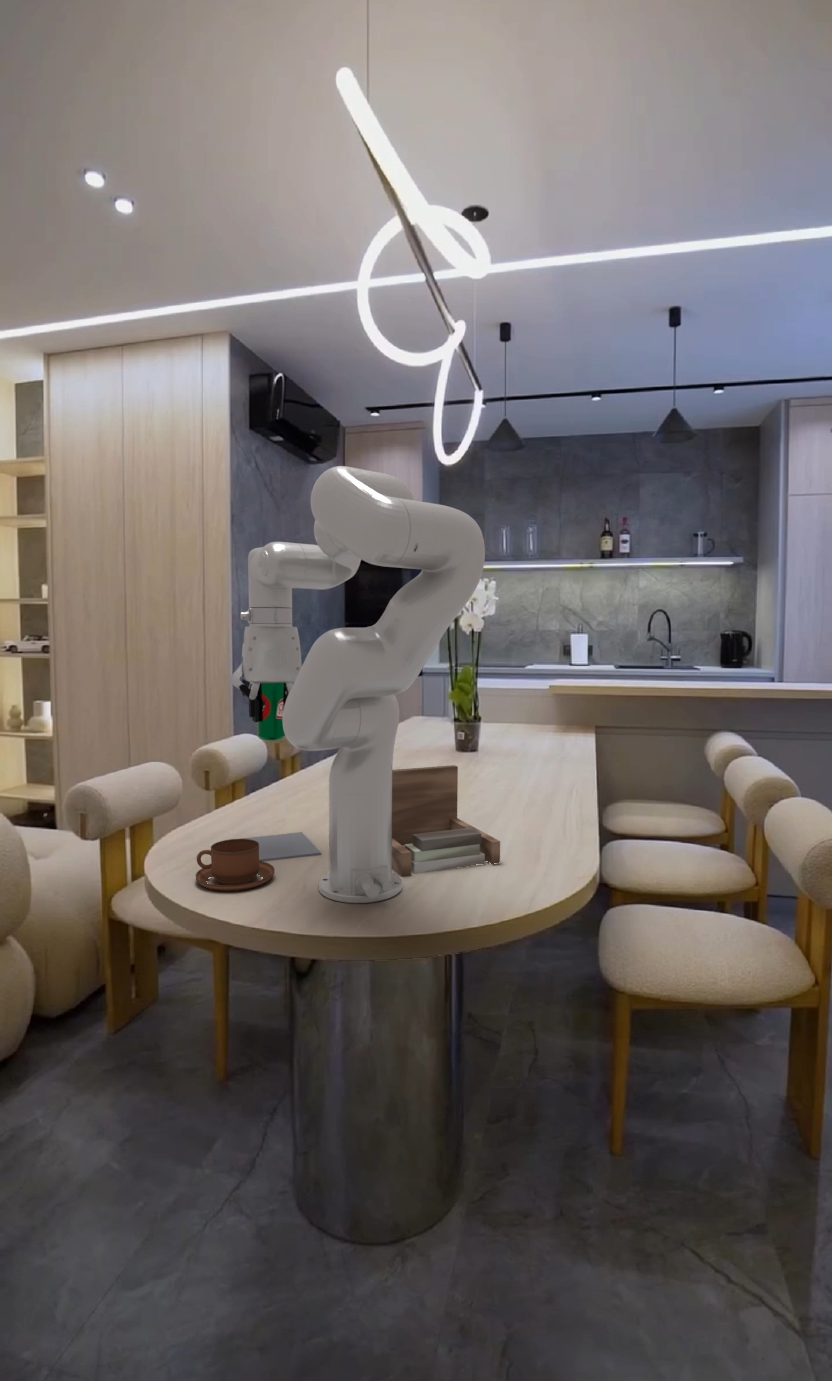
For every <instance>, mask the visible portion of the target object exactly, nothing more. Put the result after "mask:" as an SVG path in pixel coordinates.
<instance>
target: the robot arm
mask: <svg viewBox="0 0 832 1381" xmlns="http://www.w3.org/2000/svg"><path fill="white" fill-rule="evenodd" d="M409 487H410V486H408V485H407V484H406V483H405V482H404V481H403V480H401V479H400V478H398V477H397V476H393V475H390V474H387V473H384V472H378V471H373V470H367V469H362V468H357V467H351V466H346V465H345V466H344V465H343V466H342V465H338V466H332V467H331V468H328V469H327V470H325V471H324V472H322V473H321V474H320V475H319V477H318V478H317V479H316V481H315V482H314V485H313V487H312V490H311V493H310V509H311V513H312V516H313V517H314V524H313V534H314V540H315V542H316V544H312V543H311V544H309V543H301V542H300V543H298V542H287V541H271V542H269V543H266V544H265V545H264V546H263V547H261V546H260V547H255V548H253V549H252V550H250V551H249V552H248V556H247V558H248V559H247V562H248V563H247V565H248V566H247V570H248V571H247V572H248V609H247V610H245V611H240V616H239V617H240V620H244V621H247V623H248V626H245V628H244V633H243V639H242V648H241V650H242V651H241V663H240V664H239V666H238V667H237V668H236V669H235V671H234V672H233V673H232V675H231V676H230V677H229V678H228V681H229V682H228V683H230V684H232V685H233V686H234V687H235V688H236V689H238V690H239V691H240V692H241V693H242V694H244V696H245V697H246V698H247V699H248V715H249V718H252V722H254V723H257V722H258V721H259V700H258V699H257V692H258V689H259V685H260V683H285V684H286V702H285V706H284V710H283V719H282V720H283V730H284V733H285V739H286V740H287V742H289V743H290V744H291V745H292V746H294V748H297V749H298V750H302V751H307V752H318V751H319V752H320V751H326V750H335V749H338V751H337V752H336V754H335V756H334V759H333V761H332V763H331V766H330V770H329V775H328V867H329V868H328V873H327V874H326V875H324V876H322V878H321V879H320V880H319V882H318V891H319V892H320V895H321V894H322V895H323V897H325V898H327V899H330V900H333V901H335V902H340V903H341V902H342V903H349V904H366V903H374V902H375V903H376V902H381V901H385V900H387V899H390V898H393V897H395V896H396V895H398V894H399V893H400V892H401V890H402V888H403V881H402V878H401V876H400V875H399V874H398V875H397V874H396V873H394V872H393V869H392V770H393V762H394V761H393V760H394V751H395V750H394V749H395V743H396V737H397V732H398V727H399V721H400V708H399V706H400V705H399V702H398V699H397V697H396V696H395V695H399V694H402V693H403V692H405V691H407V690H408V689H409V688H410V687H412V685H413V684H414V682H415V681H416V679H417V678H418V677H419V675H420V673H421V672H422V670H423V669H424V667H425V666H426V664H427V662H428V661H429V659H430V657H431V656H432V654H433V653H434V651H435V650H436V647H437V646H438V644H439V643H440V642H441V639H442V638H443V636H444V634H445V633H446V632H447V630H448V628H449V627H450V625H451V624H452V623H453V621H454V620H455V619H456V618H457V617H458V615H459V614H460V613H461V612H462V610H463V609H464V608H465V606H466V605H467V603H468V602H469V601H470V600H471V598H472V596H473V594H474V593H475V591H476V590H477V588H478V585H479V583H480V580H481V579H482V578H481V577H482V575H483V572H484V571H483V570H484V568H485V559H486V546H485V541H484V540H485V539H484V536H483V532H482V529H481V528H480V526H479V525H478V523H477V522H476V520H475V519H474V518H473V517H471V515H469V514H467V513H466V512H464V511H462V510H460V509H457V508H454V507H451V506H447V505H445V504H439V503H432V502H428V501H427V502H426V501H424V502H423V501H418V500H415V498H414V495H413V493H412V490H411V489H410V488H409ZM361 561H364V562H365V563H368V564H370V565H374V566H380V567H384V568H385V567H388V568H401V569H412V570H414V569H415V570H421V571H420V573H419V574H418V575H416V576H415V577H414V578H413V579H411V580H410V581H408V582H407V583H406V584H404V585H403V586H402V587H401V588H400V589H399V590H398V591H397V592H396V593H395V594H394V595H393V596H392V598H390V600H389V602H388V604H387V606H386V607H385V610H384V611H383V613H382V615H381V616H380V618H379V619H378V620H377V622H376V623H375V624H373V625H371V626H367V627H338V628H337V627H336V628H332V629H330V630H328V631H326V632H324V633H323V634H322V635H320V636H319V637H318V638H317V639H316V640H315V641H314V643H313V644H312V646H311V647H310V650H309V651H308V653H307V654H306V657H305V659H304V662H302V650H301V644H300V643H301V642H300V636H299V631H298V627H297V626H293V589H305V590H306V589H307V590H308V589H309V590H329V589H332V588H335V587H337V586H340V585H341V584H343V583H345V582H346V581H348V580H350V579H351V578H353V577H354V576H355V575H356V574H357V571H358V570H359V567H360V565H361ZM302 663H303V664H302ZM241 677H242V679H243V681H246V682H249V686H247V685H246V684H245V683H243V682H242V681H241V680H240V679H241Z"/></svg>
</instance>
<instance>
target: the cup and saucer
mask: <svg viewBox="0 0 832 1381" xmlns="http://www.w3.org/2000/svg"><path fill="white" fill-rule="evenodd" d="M203 855H209V856H210V860H211V861H210V862H211V863H209V864H204V863H203V862H202V859H201V858H202V857H203ZM196 862H197V865H198V866H199V867H200V869H199V870H198V871H197V872H196V873H195V880H196V881H197V883H198V884H199V885H201V886H202V887H204V888H206V889H209V890H212V891H218V892H219V891H221V892H238V891H243V890H244V891H246V890H250V889H253V888H257V887H259V886H262V885H263V884H265V883H267V882H268V881H269V880H271V878H273V876H274V875H275V874H274V873H275V867H274V866H273V865H272V864H270V863H269V862H267V861H259V843H258V842H257V841H254V840H250V839H241V838H232V839H225V840H221V841H216V842H215V843H213V844H212V845H211V846H210V849H203V850H201V851H200V852H198V853H197V856H196ZM257 874H258V875H260V876H259V877H260V878H261V877H263V879H262V880H261V879H260V880H256V881H253V882H251V881H252V880H254V879H255V878H256V876H258V875H257ZM209 877H213V879H214V880H215V881H216V882H218V883H219V884H220V885H219V884H214V883H213V884H211V883H208V884H207V882H206V881H208V882H209V881H210V879H208V878H209Z"/></svg>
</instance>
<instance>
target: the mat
mask: <svg viewBox="0 0 832 1381" xmlns="http://www.w3.org/2000/svg"><path fill="white" fill-rule="evenodd" d="M240 839H250V840H254V841H257V842H258V843H259V861H262V862H269V861H270V862H271V861H277V860H288V859H296V858H297V859H298V858H307V857H315V856H321V855H322V852H321V850H319V849H318V847H316V846H315V844H314V842H312V841H311V840H310V839H309V838H308V837H307V835H305V834H304V832H302V831H297V832H289V833H288V832H287V833H281V834H279V833H278V834H272V835H261V836H253V837H242V838H241V837H240Z"/></svg>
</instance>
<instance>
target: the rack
mask: <svg viewBox="0 0 832 1381" xmlns="http://www.w3.org/2000/svg"><path fill="white" fill-rule="evenodd" d="M458 769H459V766H457V765H456V764H452V765H450V764H449V765H438V766H427V767H426V766H424V767H414V768H412V767H411V768H399V769H392V871H394V872H396V873H397V874H398V876H400V877H403V878H404V877H411V876H412V873H413V874H420V873H429V872H435V871H436V872H437V871H444V870H445V871H446V870H453V868H454V869H458V868H457V867H462V868H467V867H466V866H470V867H472V866H471V865H476V864H486V863H485V861H488V862H490V863H491V864H494V863H499V862H500V863H501V840H499V839H496V838H495V837H494V836H491V835H489V834H488V833H486V832H484V831H482V830H480V829H478V828H476V827H474V826H473V825H471V824H469V823H468V822H465V821H463V820H461V819H460V818H459V817H458V788H459V786H458V783H459V782H458V781H459V780H458V779H459V778H458V776H459V770H458Z"/></svg>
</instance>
